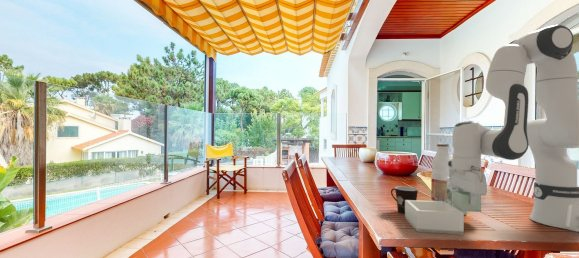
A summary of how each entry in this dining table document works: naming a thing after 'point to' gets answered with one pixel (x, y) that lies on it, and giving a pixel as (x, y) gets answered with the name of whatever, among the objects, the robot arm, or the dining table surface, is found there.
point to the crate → (434, 217)
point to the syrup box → (452, 194)
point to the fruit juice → (440, 173)
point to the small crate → (466, 202)
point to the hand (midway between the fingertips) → (466, 201)
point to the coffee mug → (404, 196)
